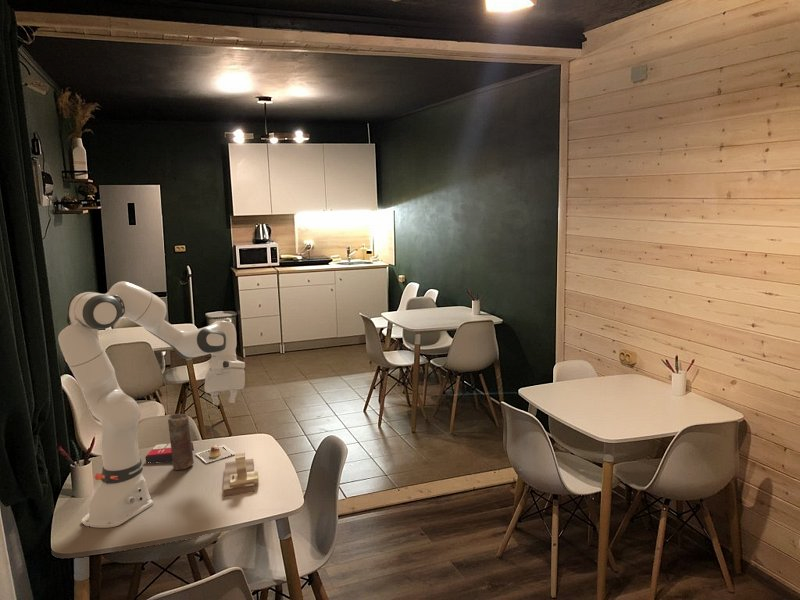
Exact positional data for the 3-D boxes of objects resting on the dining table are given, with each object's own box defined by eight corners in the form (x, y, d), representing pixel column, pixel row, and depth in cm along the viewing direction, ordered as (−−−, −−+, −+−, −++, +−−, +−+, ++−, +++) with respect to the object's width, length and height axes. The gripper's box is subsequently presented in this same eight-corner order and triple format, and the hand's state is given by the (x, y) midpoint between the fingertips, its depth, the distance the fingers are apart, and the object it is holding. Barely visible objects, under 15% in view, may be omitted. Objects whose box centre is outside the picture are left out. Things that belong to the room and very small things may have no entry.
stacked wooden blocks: (258, 484, 215) (255, 456, 213) (230, 489, 213) (227, 460, 212) (258, 477, 221) (255, 449, 219) (231, 481, 219) (228, 453, 217)
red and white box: (155, 443, 252) (192, 439, 251) (157, 453, 252) (194, 449, 252) (144, 455, 241) (183, 451, 240) (146, 465, 242) (185, 461, 241)
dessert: (195, 456, 247) (193, 444, 246) (224, 447, 254) (223, 436, 253) (206, 465, 237) (204, 453, 236) (236, 456, 244) (235, 444, 243)
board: (254, 491, 213) (253, 484, 213) (224, 496, 211) (223, 489, 211) (253, 464, 234) (253, 458, 234) (226, 469, 232) (225, 462, 232)
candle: (184, 461, 241) (177, 411, 238) (198, 463, 238) (192, 413, 234) (169, 469, 235) (162, 418, 231) (183, 472, 231) (177, 421, 228)
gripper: (200, 368, 234) (199, 405, 231) (233, 361, 221) (233, 401, 218) (215, 368, 239) (214, 405, 236) (248, 362, 226) (248, 401, 223)
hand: (223, 403), depth 227 cm, fingers open, 8 cm apart
